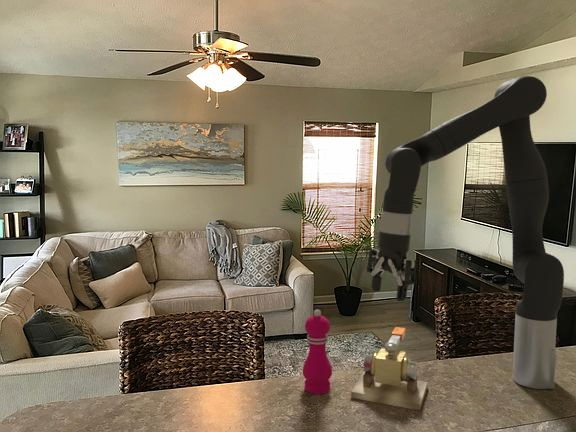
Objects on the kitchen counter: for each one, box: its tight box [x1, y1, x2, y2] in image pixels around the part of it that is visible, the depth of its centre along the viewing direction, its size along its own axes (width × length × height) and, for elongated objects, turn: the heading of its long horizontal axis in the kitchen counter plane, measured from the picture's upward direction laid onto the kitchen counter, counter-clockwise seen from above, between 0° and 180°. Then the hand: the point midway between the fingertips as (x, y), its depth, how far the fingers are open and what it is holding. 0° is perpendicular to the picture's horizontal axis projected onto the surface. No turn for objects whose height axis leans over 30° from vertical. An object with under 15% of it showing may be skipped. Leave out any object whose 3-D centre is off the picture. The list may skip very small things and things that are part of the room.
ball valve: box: [363, 347, 418, 386], centre depth 120 cm, size 12×6×7 cm, turn 67°
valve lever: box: [384, 326, 406, 353], centre depth 124 cm, size 3×14×2 cm, turn 157°
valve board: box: [350, 371, 428, 411], centre depth 120 cm, size 16×12×4 cm
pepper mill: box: [302, 309, 333, 395], centre depth 122 cm, size 7×7×20 cm
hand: (387, 295), depth 123 cm, fingers open, 8 cm apart
